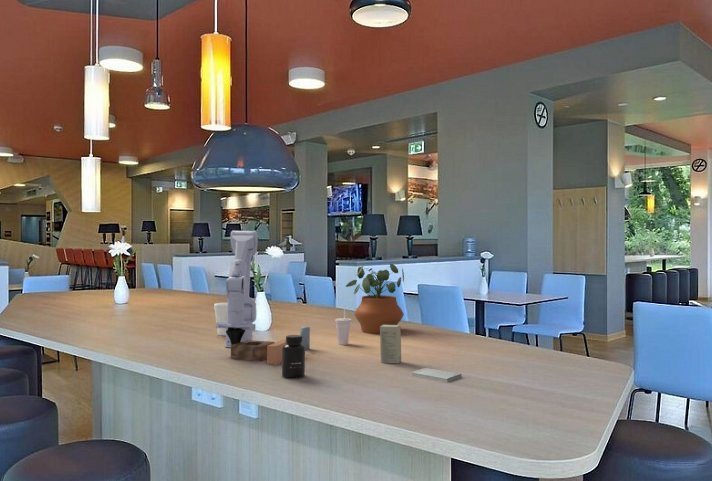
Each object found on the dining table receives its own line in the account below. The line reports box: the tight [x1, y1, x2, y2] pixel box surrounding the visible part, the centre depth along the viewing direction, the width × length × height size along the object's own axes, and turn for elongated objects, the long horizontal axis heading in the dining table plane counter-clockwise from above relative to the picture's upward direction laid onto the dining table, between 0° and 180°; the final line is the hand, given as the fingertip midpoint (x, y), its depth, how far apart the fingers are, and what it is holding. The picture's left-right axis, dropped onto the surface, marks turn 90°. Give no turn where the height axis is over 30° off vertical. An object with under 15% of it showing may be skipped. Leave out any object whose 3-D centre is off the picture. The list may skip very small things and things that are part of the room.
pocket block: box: [230, 339, 276, 362], centre depth 197 cm, size 11×11×4 cm
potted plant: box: [345, 263, 405, 334], centre depth 256 cm, size 23×28×30 cm
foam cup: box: [213, 302, 228, 336], centre depth 243 cm, size 10×9×13 cm
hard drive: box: [411, 367, 462, 383], centre depth 170 cm, size 2×8×12 cm
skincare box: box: [379, 324, 402, 364], centre depth 189 cm, size 6×4×12 cm
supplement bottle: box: [281, 334, 306, 380], centre depth 169 cm, size 7×7×12 cm
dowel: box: [299, 326, 311, 351], centre depth 211 cm, size 4×4×8 cm
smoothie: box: [334, 307, 352, 346], centre depth 221 cm, size 6×6×14 cm
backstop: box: [266, 338, 287, 366], centre depth 193 cm, size 3×18×6 cm, turn 161°
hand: (235, 349), depth 199 cm, fingers closed
